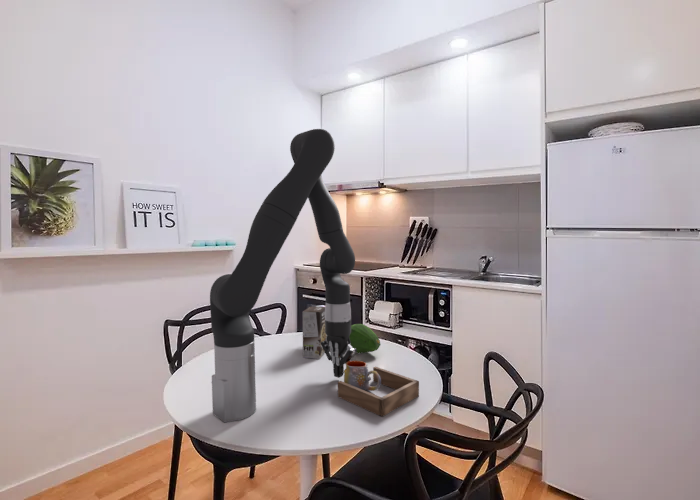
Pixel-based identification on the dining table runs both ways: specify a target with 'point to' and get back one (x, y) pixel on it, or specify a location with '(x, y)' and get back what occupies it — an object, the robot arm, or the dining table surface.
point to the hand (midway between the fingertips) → (338, 376)
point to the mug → (360, 375)
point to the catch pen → (386, 404)
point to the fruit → (363, 339)
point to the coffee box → (313, 332)
